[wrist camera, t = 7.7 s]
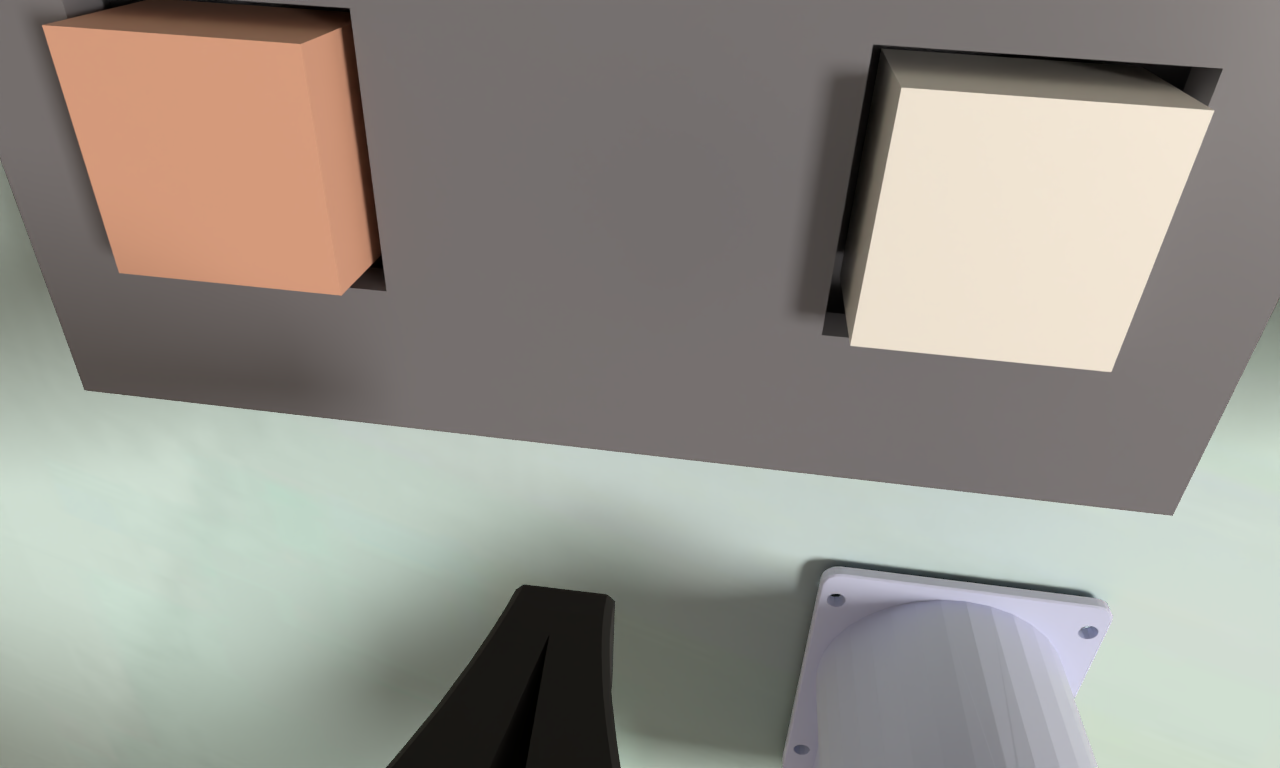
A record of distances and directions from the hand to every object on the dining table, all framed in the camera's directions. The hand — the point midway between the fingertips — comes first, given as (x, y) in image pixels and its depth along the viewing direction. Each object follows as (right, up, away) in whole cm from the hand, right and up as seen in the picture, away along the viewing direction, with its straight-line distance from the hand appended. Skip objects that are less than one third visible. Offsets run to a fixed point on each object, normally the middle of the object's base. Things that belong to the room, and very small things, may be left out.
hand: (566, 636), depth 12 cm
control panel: (+1, +9, +6) cm, 11 cm away
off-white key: (+8, +8, +4) cm, 11 cm away
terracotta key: (-6, +9, +5) cm, 12 cm away
